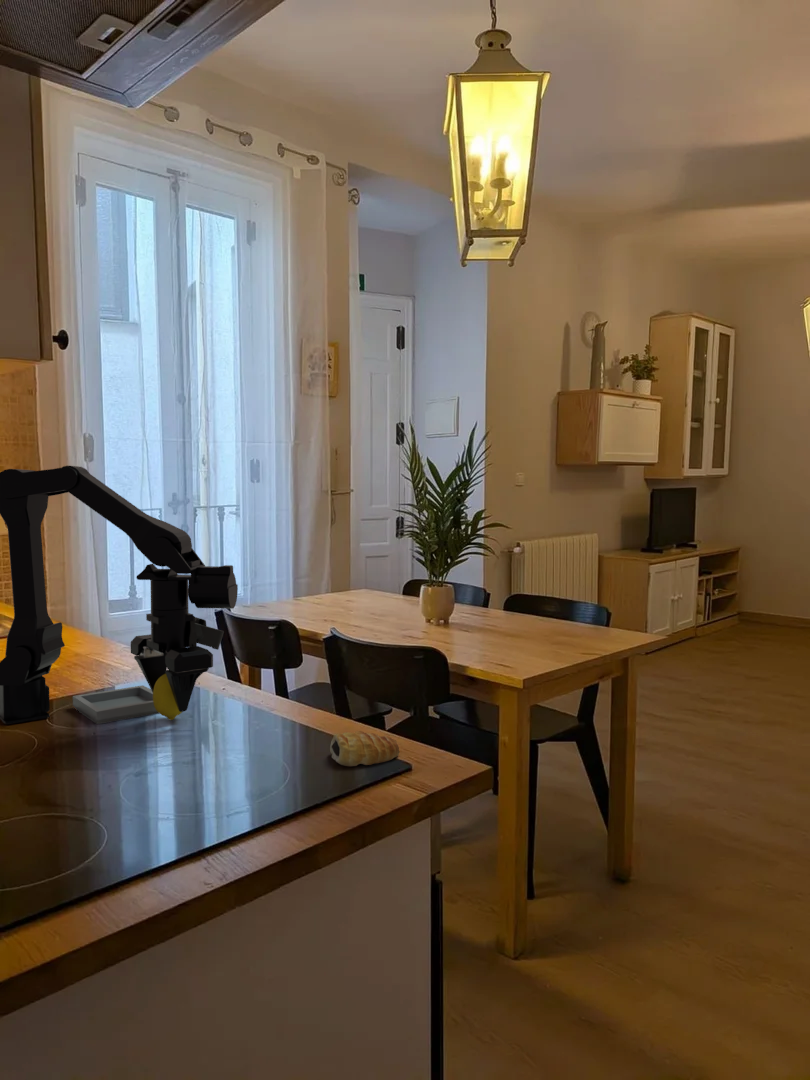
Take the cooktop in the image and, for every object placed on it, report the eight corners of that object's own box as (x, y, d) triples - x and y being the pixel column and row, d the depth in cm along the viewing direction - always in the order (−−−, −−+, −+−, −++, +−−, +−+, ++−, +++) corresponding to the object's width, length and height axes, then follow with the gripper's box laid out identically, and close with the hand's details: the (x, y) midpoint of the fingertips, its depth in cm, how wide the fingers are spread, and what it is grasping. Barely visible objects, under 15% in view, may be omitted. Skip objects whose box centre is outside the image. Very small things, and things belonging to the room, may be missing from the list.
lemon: (178, 726, 121) (178, 675, 120) (146, 723, 122) (145, 673, 122) (195, 716, 126) (194, 667, 126) (164, 714, 127) (163, 666, 127)
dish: (96, 724, 122) (96, 711, 121) (72, 707, 131) (72, 696, 131) (170, 711, 129) (170, 699, 129) (143, 696, 138) (142, 685, 138)
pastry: (389, 747, 112) (389, 721, 112) (406, 763, 106) (407, 735, 105) (326, 755, 109) (326, 728, 108) (340, 771, 102) (340, 743, 102)
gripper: (243, 610, 121) (244, 709, 122) (192, 597, 135) (193, 686, 136) (175, 617, 114) (176, 721, 115) (128, 603, 128) (130, 696, 129)
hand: (170, 705), depth 124 cm, fingers open, 9 cm apart
